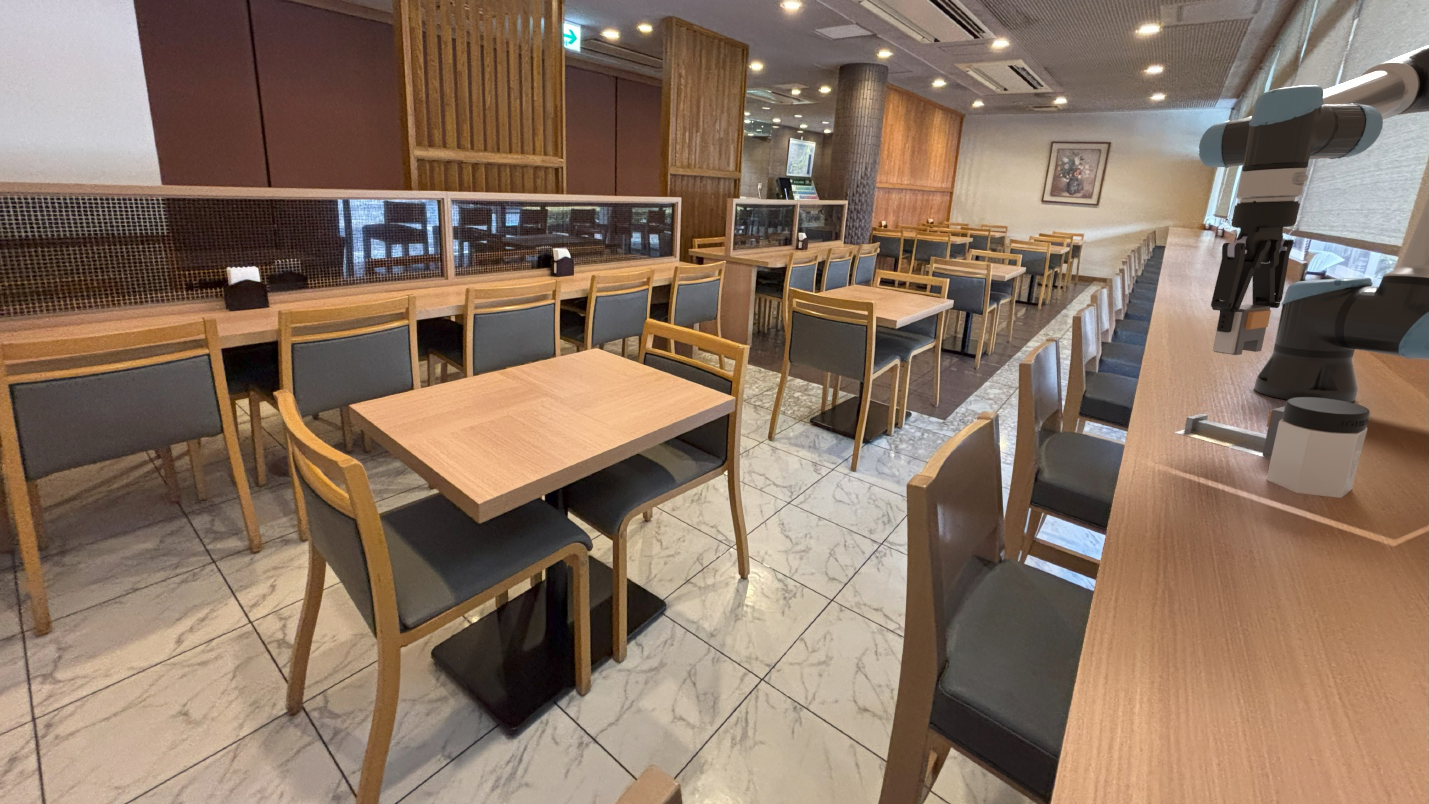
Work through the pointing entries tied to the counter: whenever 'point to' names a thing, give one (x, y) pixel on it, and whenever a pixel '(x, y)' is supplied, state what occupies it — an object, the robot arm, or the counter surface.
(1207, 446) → the counter surface
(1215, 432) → the rail
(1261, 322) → the block
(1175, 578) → the counter surface
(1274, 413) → the fixed finger
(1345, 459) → the jar
